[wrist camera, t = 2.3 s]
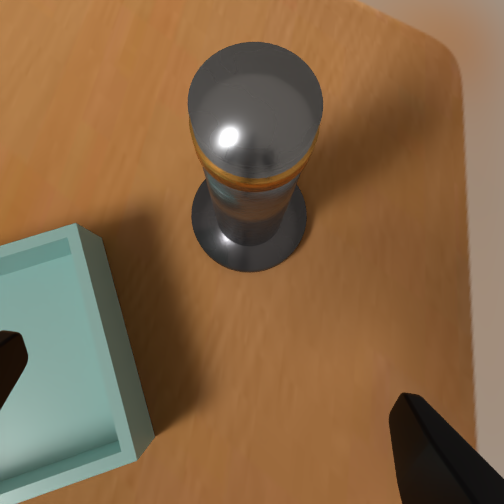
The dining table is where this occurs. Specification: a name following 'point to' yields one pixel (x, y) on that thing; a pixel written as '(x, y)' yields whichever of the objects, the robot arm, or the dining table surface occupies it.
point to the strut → (253, 134)
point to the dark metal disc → (247, 255)
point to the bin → (66, 367)
